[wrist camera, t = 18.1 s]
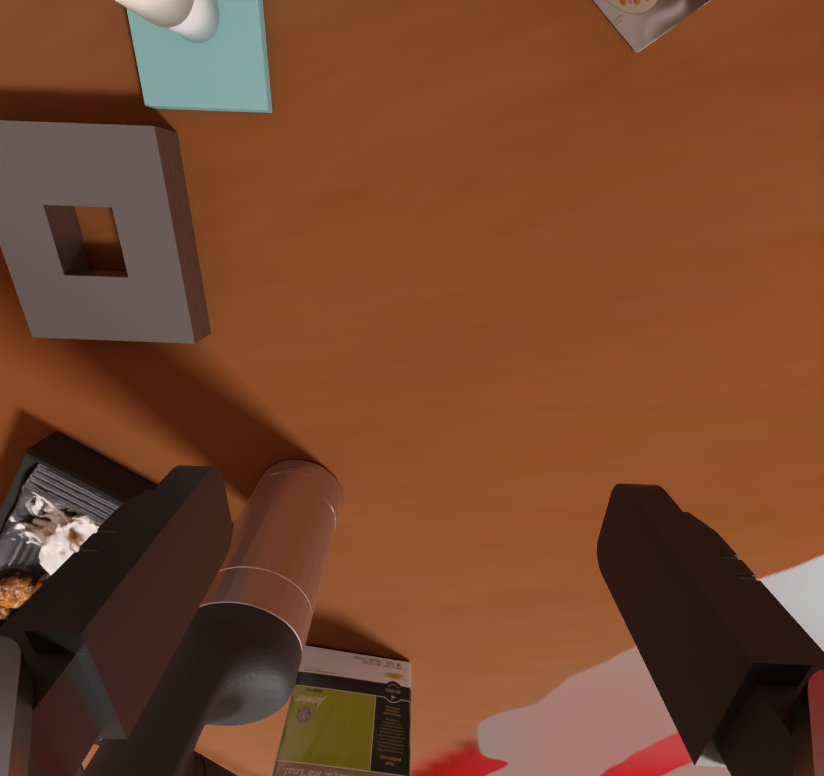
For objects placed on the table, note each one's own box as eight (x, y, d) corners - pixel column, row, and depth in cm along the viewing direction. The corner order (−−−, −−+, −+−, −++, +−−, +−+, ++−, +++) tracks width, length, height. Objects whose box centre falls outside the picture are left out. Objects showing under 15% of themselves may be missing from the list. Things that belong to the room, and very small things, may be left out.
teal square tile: (272, 112, 32) (268, 110, 31) (153, 108, 32) (145, 105, 31) (258, -48, 28) (253, -56, 27) (123, -52, 28) (113, -61, 27)
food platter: (61, 428, 44) (-37, 490, 34) (266, 539, 50) (230, 618, 40) (-44, 647, 59) (-132, 732, 50) (123, 713, 65) (73, 800, 55)
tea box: (295, 686, 60) (259, 826, 47) (304, 641, 56) (267, 780, 43) (397, 702, 61) (391, 844, 48) (413, 659, 57) (411, 801, 44)
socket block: (210, 333, 39) (194, 343, 36) (59, 327, 39) (32, 337, 36) (176, 132, 32) (154, 126, 29) (-5, 125, 32) (-45, 118, 29)
